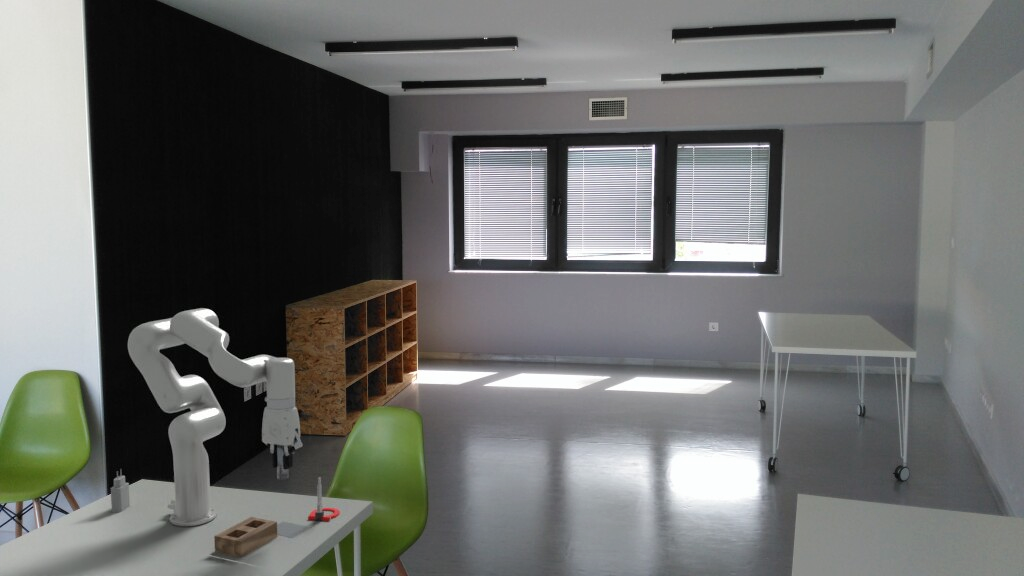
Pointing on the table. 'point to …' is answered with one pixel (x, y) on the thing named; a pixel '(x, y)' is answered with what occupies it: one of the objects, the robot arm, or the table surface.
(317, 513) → the tow hook
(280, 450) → the pin
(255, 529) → the block
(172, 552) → the table surface
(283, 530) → the mat
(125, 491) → the power adapter
